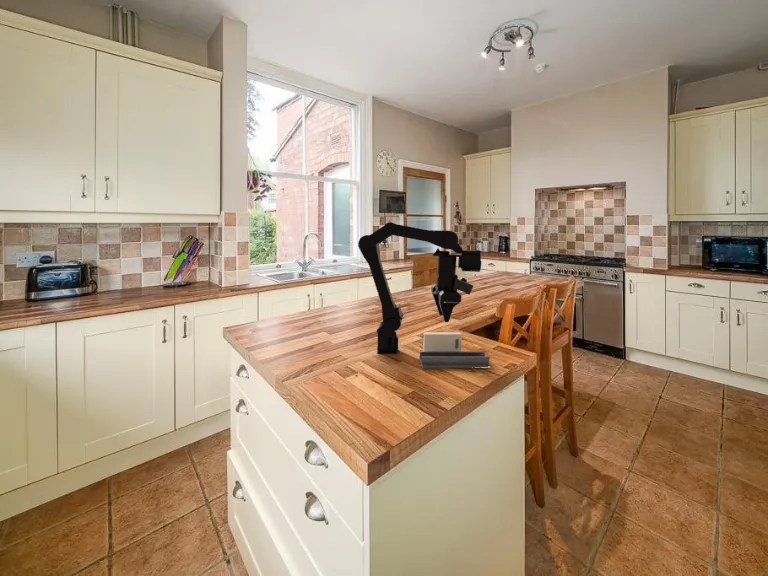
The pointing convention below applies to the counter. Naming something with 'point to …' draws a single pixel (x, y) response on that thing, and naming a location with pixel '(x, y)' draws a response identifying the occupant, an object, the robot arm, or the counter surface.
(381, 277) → the robot arm
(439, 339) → the door panel
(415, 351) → the counter surface
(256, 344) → the counter surface
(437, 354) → the track
